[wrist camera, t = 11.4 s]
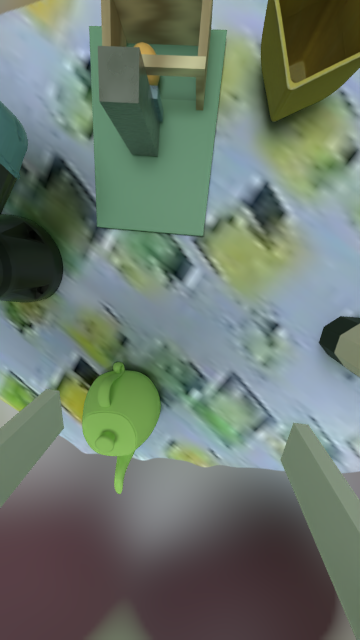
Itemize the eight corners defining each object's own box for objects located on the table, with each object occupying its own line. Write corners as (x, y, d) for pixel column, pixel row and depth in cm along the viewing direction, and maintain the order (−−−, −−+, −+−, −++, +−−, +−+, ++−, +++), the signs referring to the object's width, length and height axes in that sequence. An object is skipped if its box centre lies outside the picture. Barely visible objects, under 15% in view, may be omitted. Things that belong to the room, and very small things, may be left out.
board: (100, 227, 33) (97, 226, 32) (93, 34, 26) (89, 26, 25) (202, 236, 32) (202, 235, 31) (225, 38, 25) (227, 29, 24)
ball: (125, 29, 22) (135, 70, 26) (122, 66, 23) (132, 102, 27) (158, 30, 22) (163, 71, 26) (155, 68, 23) (160, 103, 27)
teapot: (168, 434, 46) (157, 499, 33) (109, 433, 47) (77, 495, 35) (158, 352, 40) (140, 394, 27) (90, 354, 41) (44, 395, 29)
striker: (128, 154, 28) (94, 101, 19) (128, 110, 27) (91, 27, 17) (161, 156, 28) (143, 103, 19) (163, 111, 27) (145, 29, 17)
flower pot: (246, 69, 26) (270, -28, 17) (314, 33, 24) (380, -93, 16) (260, 143, 28) (288, 91, 19) (324, 115, 26) (385, 44, 18)
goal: (120, 108, 27) (98, 64, 21) (120, 32, 25) (95, -41, 19) (203, 112, 27) (204, 68, 21) (210, 35, 24) (215, -40, 18)
